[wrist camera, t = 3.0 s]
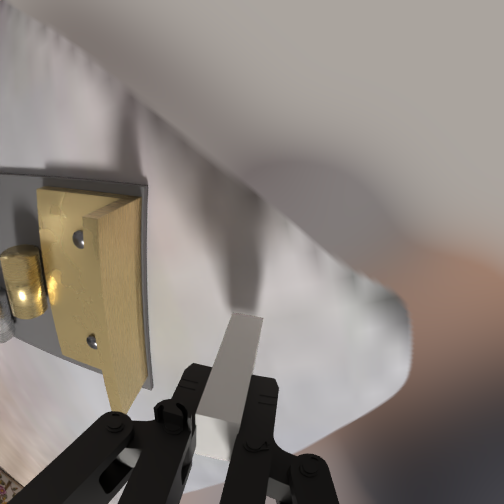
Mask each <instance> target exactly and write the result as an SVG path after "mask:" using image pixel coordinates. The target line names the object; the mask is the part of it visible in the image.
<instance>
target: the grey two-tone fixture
mask: <svg viewBox="0 0 504 504" xmlns="http://www.w3.org/2000/svg"><path fill="white" fill-rule="evenodd" d="M44 186H50V187H60V188H70V189H79V190H88V191H97V192H106V193H114V194H122V195H130V196H138V197H142V211H141V273H142V302H143V320H144V335H145V348H146V360H147V370H148V377H147V379H146V381H145V382H144V384H143V386H142V388H145V389H148V390H152V388H153V379H152V368H151V356H150V342H149V326H148V305H147V266H146V235H147V196H148V186H146V185H137V184H128V183H119V182H109V181H99V180H88V179H77V178H65V177H52V176H38V175H22V174H4V173H0V254H1V253H2V252H3V251H4V250H6V249H8V248H10V247H13V246H17V245H23V244H29V245H34V246H36V247H38V249H39V255H40V262H41V269H42V275H43V281H44V287H45V292H46V298H47V303H48V308H47V310H46V311H45V312H44V313H43V314H42V315H40V316H38V317H36V318H33V319H19V318H17V317H15V316H14V315H13V313H12V310H11V306H10V302H9V298H8V294H7V290H6V286H5V281H4V276H3V272H2V266H1V261H0V288H3V289H4V290H5V292H6V296H7V300H8V304H9V308H10V311H11V315H12V319H13V322H14V325H15V329H16V332H15V335H14V337H16V338H18V339H20V340H22V341H24V342H26V343H28V344H30V345H33V346H35V347H37V348H39V349H41V350H43V351H46V352H48V353H50V354H52V355H55V356H57V357H59V358H62V359H64V360H67V361H69V362H71V363H74V364H76V365H79V366H81V367H84V368H87V369H89V370H92V371H95V372H97V373H100V374H103V373H102V370H101V369H98V368H95V367H93V366H90V365H87V364H85V363H82V362H79V361H77V360H74V359H72V358H69V357H67V356H64V355H62V352H61V348H60V344H59V340H58V336H57V332H56V328H55V324H54V319H53V315H52V310H51V305H50V300H49V295H48V290H47V284H46V278H45V272H44V265H43V258H42V250H41V242H40V232H39V222H38V208H37V189H38V188H41V187H44Z"/></svg>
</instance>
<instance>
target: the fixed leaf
mask: <svg viewBox="0 0 504 504" xmlns="http://www.w3.org/2000/svg"><path fill="white" fill-rule="evenodd" d="M15 332H16V329H15V325H14V322H13V319H12V315H11V311H10V308H9V304H8V300H7V296H6V292H5V290H4V289H3V288H0V343H4V342H6V341H8V340H10V339H11V338H12V337H13V336H14V335H15Z"/></svg>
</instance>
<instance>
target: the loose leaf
mask: <svg viewBox="0 0 504 504" xmlns="http://www.w3.org/2000/svg"><path fill="white" fill-rule="evenodd" d="M37 208H38V222H39V232H40V242H41V250H42V258H43V265H44V272H45V278H46V284H47V290H48V295H49V300H50V305H51V310H52V315H53V319H54V324H55V328H56V332H57V336H58V340H59V344H60V348H61V352H62V355H64V356H67V357H69V358H72V359H74V360H77V361H79V362H82V363H85V364H87V365H90V366H93V367H95V368H98V369H101V370H102V373H103V378H104V382H105V386H106V390H107V394H108V398H109V402H110V406H111V410H112V411H119V412H122V413H125V414H127V412H128V410H129V409H130V407H131V405H132V403H133V401H134V400H135V398H136V396H137V394H138V393H139V391H140V389H141V387H142V386H143V384H144V382H145V381H146V379H147V377H148V370H147V360H146V348H145V335H144V320H143V302H142V273H141V211H142V197H138V196H130V195H122V194H114V193H106V192H97V191H88V190H79V189H70V188H60V187H50V186H44V187H41V188H38V189H37ZM0 261H1V266H2V272H3V276H4V281H5V286H6V290H7V294H8V298H9V302H10V306H11V310H12V313H13V315H14V316H15V317H17V318H19V319H33V318H36V317H38V316H40V315H42V314H43V313H44V312H45V311H46V310H47V308H48V303H47V298H46V292H45V287H44V281H43V275H42V269H41V262H40V255H39V249H38V247H36V246H34V245H29V244H23V245H17V246H13V247H10V248H8V249H6V250H4V251H3V252H2V253H1V254H0Z"/></svg>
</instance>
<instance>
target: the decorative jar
mask: <svg viewBox="0 0 504 504" xmlns="http://www.w3.org/2000/svg"><path fill="white" fill-rule="evenodd" d="M23 488H24V487H23V486H21V485H20V484H19V483H17V482H16V481H15V480H13V479H12V478H11V477H9V476H8V475H7V474H5V473H4V472H3V471H2V470H0V504H6V503H7V502H8V501H10V500H11V499H12V498H13V497H14V496H15V495H16V494H17V493H18V492H20V491H21V490H22V489H23Z"/></svg>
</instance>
